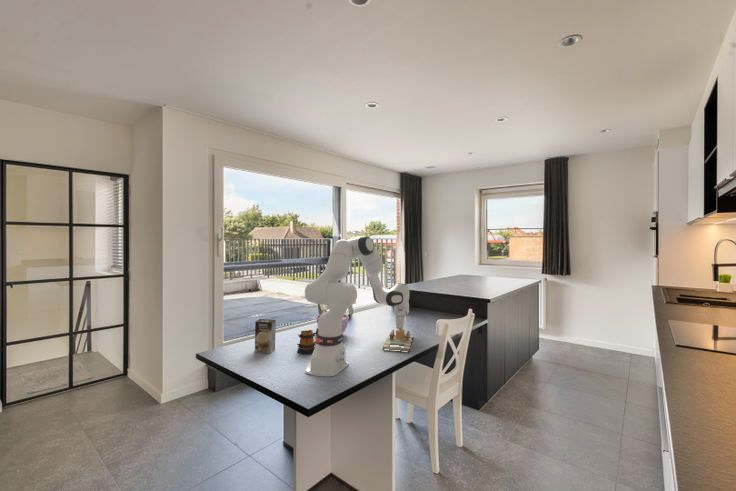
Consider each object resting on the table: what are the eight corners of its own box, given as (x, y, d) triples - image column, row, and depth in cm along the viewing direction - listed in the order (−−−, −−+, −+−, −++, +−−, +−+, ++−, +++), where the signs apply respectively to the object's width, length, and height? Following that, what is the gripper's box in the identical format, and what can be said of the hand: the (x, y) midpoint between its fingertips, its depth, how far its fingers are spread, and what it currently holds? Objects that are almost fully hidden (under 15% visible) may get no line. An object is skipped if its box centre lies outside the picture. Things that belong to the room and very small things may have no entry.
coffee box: (253, 352, 174) (254, 321, 174) (259, 348, 180) (259, 318, 180) (271, 353, 173) (271, 322, 173) (275, 349, 180) (276, 319, 179)
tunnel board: (408, 352, 178) (409, 343, 178) (382, 350, 181) (382, 341, 181) (413, 337, 206) (413, 329, 205) (390, 335, 208) (390, 327, 208)
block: (403, 338, 196) (403, 331, 196) (395, 337, 197) (396, 331, 197) (404, 336, 201) (404, 329, 201) (396, 335, 202) (396, 329, 202)
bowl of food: (309, 338, 200) (310, 318, 200) (324, 329, 219) (324, 311, 219) (341, 342, 194) (341, 322, 194) (353, 332, 213) (353, 314, 213)
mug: (302, 356, 170) (302, 333, 170) (293, 350, 178) (293, 328, 178) (324, 351, 178) (325, 329, 178) (315, 346, 186) (315, 325, 186)
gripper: (398, 306, 215) (398, 327, 215) (394, 313, 195) (393, 336, 195) (408, 306, 214) (407, 328, 214) (405, 313, 194) (404, 337, 194)
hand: (401, 332), depth 205 cm, fingers closed
